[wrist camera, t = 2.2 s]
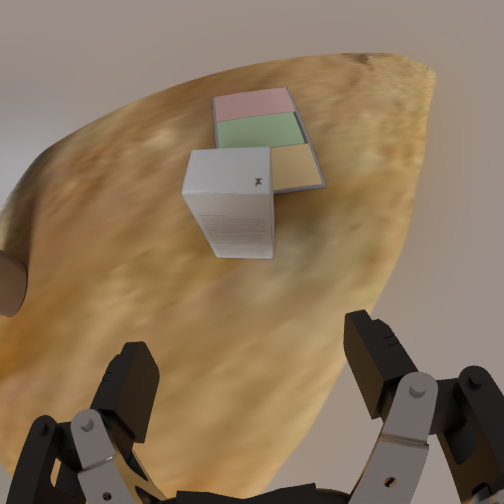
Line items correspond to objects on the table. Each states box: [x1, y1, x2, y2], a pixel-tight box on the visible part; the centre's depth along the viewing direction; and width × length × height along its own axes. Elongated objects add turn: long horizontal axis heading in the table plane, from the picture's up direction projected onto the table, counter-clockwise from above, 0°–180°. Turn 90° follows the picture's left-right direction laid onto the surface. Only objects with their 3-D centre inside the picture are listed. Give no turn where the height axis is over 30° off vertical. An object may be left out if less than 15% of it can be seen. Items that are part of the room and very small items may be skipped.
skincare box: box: [181, 147, 275, 259], centre depth 23 cm, size 6×4×12 cm
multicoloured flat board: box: [212, 87, 326, 195], centre depth 34 cm, size 12×20×1 cm, turn 8°
